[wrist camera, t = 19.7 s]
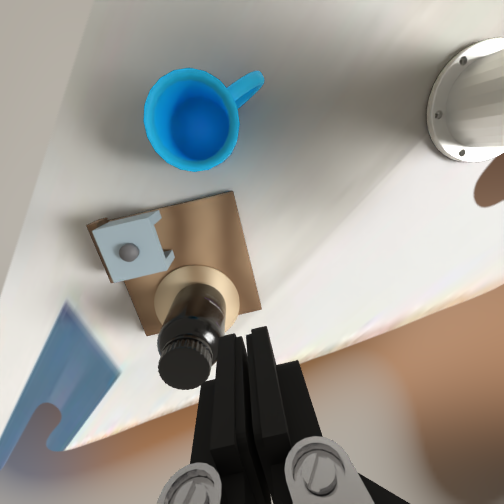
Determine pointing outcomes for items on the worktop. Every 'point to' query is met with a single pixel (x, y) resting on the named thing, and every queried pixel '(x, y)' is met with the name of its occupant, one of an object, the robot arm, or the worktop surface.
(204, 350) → the supplement bottle
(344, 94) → the worktop surface
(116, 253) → the cover
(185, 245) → the board
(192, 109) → the mug
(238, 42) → the worktop surface
